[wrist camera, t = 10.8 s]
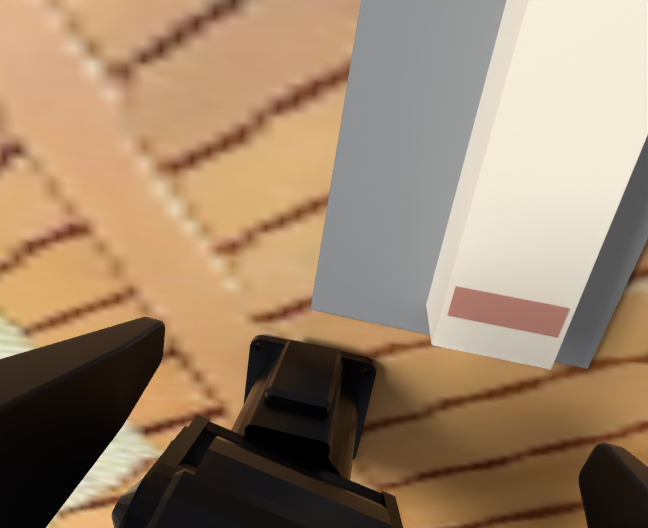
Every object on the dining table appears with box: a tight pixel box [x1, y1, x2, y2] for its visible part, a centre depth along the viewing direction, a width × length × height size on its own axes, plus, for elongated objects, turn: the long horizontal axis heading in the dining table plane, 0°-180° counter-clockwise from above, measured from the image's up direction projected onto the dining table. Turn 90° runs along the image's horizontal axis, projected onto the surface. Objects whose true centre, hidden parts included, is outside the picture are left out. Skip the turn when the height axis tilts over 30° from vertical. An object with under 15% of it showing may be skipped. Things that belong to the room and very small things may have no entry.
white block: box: [426, 0, 648, 370], centre depth 16 cm, size 14×4×4 cm, turn 172°
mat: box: [310, 0, 648, 369], centre depth 18 cm, size 17×13×1 cm
